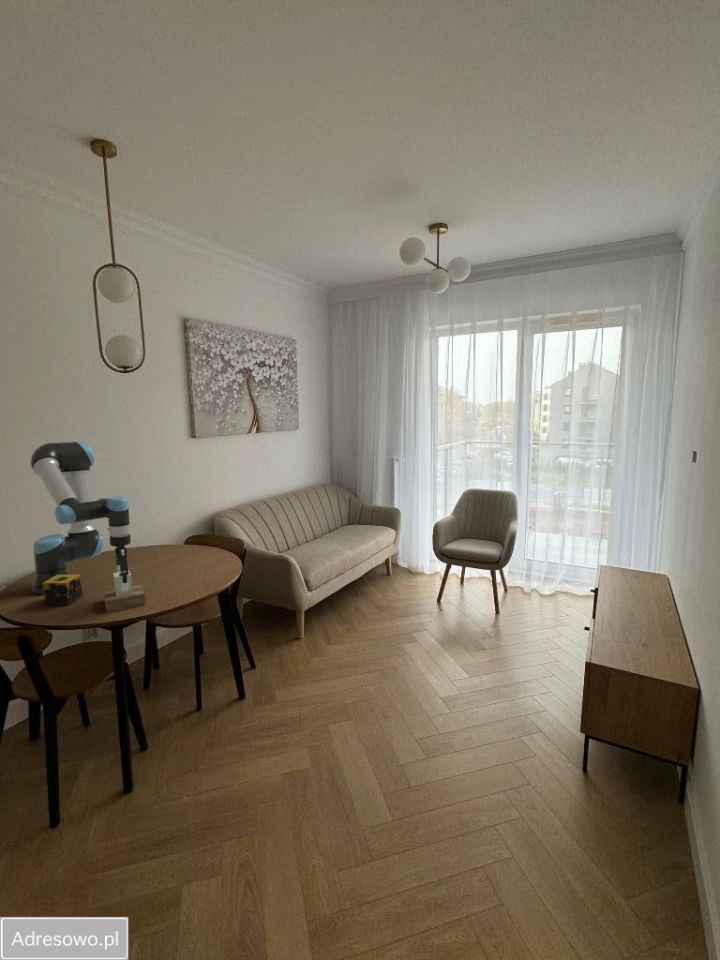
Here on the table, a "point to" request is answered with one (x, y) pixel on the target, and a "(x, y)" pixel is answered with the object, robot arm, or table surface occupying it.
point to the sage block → (118, 584)
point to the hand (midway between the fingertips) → (123, 584)
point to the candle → (62, 589)
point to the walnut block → (124, 599)
